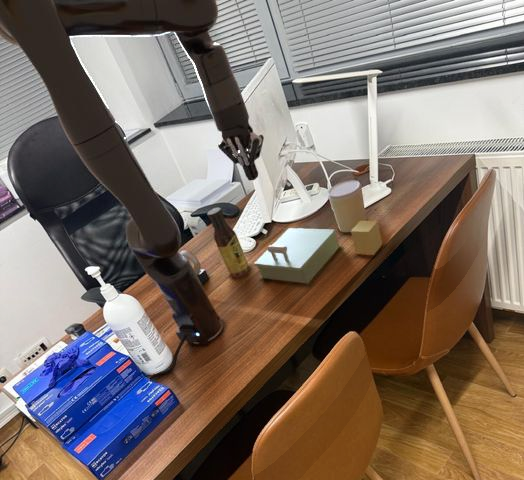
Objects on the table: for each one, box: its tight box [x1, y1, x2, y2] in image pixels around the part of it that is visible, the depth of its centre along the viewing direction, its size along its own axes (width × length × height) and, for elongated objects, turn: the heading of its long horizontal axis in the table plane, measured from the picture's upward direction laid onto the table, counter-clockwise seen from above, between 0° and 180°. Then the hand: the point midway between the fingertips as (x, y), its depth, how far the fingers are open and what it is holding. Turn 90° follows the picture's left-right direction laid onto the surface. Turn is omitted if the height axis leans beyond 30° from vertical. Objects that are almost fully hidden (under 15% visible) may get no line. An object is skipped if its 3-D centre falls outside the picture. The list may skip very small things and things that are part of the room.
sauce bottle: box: [207, 207, 250, 278], centre depth 127 cm, size 7×6×20 cm
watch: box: [178, 249, 210, 286], centre depth 134 cm, size 6×8×11 cm
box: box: [257, 231, 340, 284], centre depth 123 cm, size 17×16×5 cm
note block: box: [350, 220, 383, 256], centre depth 116 cm, size 5×5×8 cm
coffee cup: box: [327, 179, 367, 233], centre depth 126 cm, size 9×9×12 cm
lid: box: [253, 227, 337, 271], centre depth 120 cm, size 17×16×5 cm
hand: (253, 178), depth 108 cm, fingers closed
